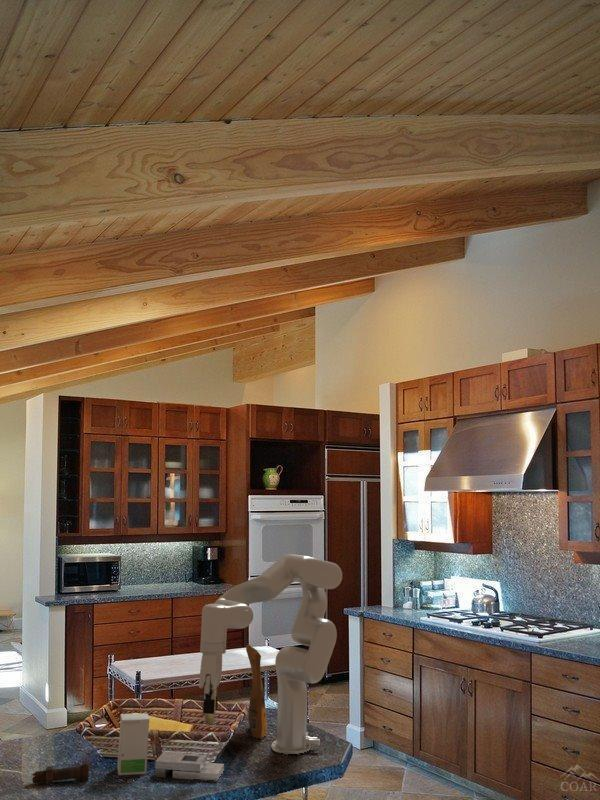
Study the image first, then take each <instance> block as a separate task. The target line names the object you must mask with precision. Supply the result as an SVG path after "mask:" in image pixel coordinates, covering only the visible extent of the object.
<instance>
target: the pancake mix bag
mask: <svg viewBox="0 0 600 800" xmlns="http://www.w3.org/2000/svg"><path fill="white" fill-rule="evenodd" d="M245 652H246V654H247V657H248V660H249V664H250V667H251V674H252V675H251V676H252V677H251V678H252V685H251V691H250V696H249V697H250V698H249V705H248V724H249V729H250V730H249V731H250V733H251V735H252V736H253V737H252V736H251V737H252V738H254V737H256V738H255V739H258V738H260V739H259V740H262V739H263V738H265V737H264V736H266V737H267V731H268V721H267V719H268V718H267V709H266V700H265V692H264V687H263V686H264V685H263V681H262V673H261V667H262V666H261V662H262V661H261V659H262V655H261V654H260V653H259V651H258V650H257V649H256V648H254V647H252V645H250V643H248V644H247V645H245ZM262 737H263V738H262Z"/></svg>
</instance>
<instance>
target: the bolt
mask: <svg viewBox="0 0 600 800" xmlns="http://www.w3.org/2000/svg"><path fill="white" fill-rule="evenodd" d="M89 764H90V763H89V761H88V760H87V759H85V760H82V765H76V766H68V767H62V768H56V769H55V768H54V767H53V766H52V765H50V766H46V768H45V770H38V771H34V773H32V776H33V777H32V780H31V781H32V783H33V784H41V783H45V785H46V786H52V785H53V784H54V782H57V781H58V782H60V781H66V780H69V781H71V780H75V779H76V780H81V779H82V782H83V783H87V782H89V780H90V779H89V776H90V771H89V770H90V768H89V767H90V766H89ZM49 784H50V785H49ZM51 784H52V785H51Z"/></svg>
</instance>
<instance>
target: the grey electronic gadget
mask: <svg viewBox="0 0 600 800" xmlns="http://www.w3.org/2000/svg"><path fill="white" fill-rule="evenodd" d="M183 753H184V752H176V751H175V752H174V751H163V752H162V753H161V754H160V755H159V757H157V759H156V760H155V764H154V765H155V766H154V777H155V778H156V777H157V778H166V777H167V776H168V774H169V773H170V772H171V770H172V779H182V780H184V779H185V780H193V779H204V780H203V781H207V780H214V781H213V782H219V780H218V779H220V778H221V777H222V775H223V774H224V772H223V771H225V763H218V762H217V763H215V762H206V760H207V761H208V754H204V755H202V754H201V753H190V754H183ZM199 754H201V755H199ZM221 774H222V775H221ZM220 776H221V777H220ZM219 777H220V778H219Z"/></svg>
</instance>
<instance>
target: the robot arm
mask: <svg viewBox="0 0 600 800" xmlns="http://www.w3.org/2000/svg"><path fill="white" fill-rule="evenodd" d="M342 580H343V571H342V569H341V567H340V566H339V565H338V564H337V563H334V562H332V561H327V560H322V559H319V558H316V557H312V556H308V555H300V554H294V553H287V554H284V555H282V556H281V557H280V558H279V559H277V561H275V562H274V563H273V564H271V565H270V566H269V567H268V568H267V569H266V570H264V571H263V572H262V573H260V574H259V575H258V576H256V577H254V578H251V579H249V580H247V581H244V582H242V583H240V584H237V585H234V586H233V587H231V588H229V590H227V591H226V592H224V593H223V594H222V595H221V596H220V597H218V598H217V599H216V600H215V602H214V603H207V604H204V605H203V607H202V610H201V626H200V628H201V629H200V631H201V632H200V649H199V653H200V654H202V655H201V660H200V661H201V662H200V669H199V681H198V682H199V683H198V688H199V689H203V688H204V692H203V702H202V703H203V704H202V707H203V708H202V713H203V714H205V713H206V714H214V707H215V711H216V710H217V709H218V688H219V685H220V683H221V682H222V674H223V655H224V654H226V652H227V650H226V649H227V631H228V629H235V630H237V629H240V630H242V629H245V628H247V627H248V626H250V625H251V624H252V622H253V619H254V611H253V609H252V608H251V607H250V606H249V605H252V604H256V603H264V602H268V601H271V600H273V599H275V598H277V597H278V596H279V595H280V594H281V593H282V592H284V590H286V589H287V588H288V587H290V586H291V584H293V583H295V582H296V583H299V584H300V586H301V590H302V597H301V598H302V599H301V602H300V606H299V609H298V611H297V614H296V617H295V619H294V622H293V624H292V627H291V632H290V636H291V639H292V640H293V641H294V642H295V643H297V644H300V645H301V646H302V645H303V646H305V647H308V649H305V648H303V647H302V648H301V647H298V646H292V645H289V646H284V647H282V648H281V649H280V650H278V652H277V654H276V655H275V660H274V662H275V673H276V679H277V706H276V707H277V709H276V738H275V739H276V740H273V742H272V743H271V750H272V751H274V752H276V753H278V754H281V753H283V754H282V755H288V754H297V755H300V754H299V753H303V754H305V753H304V752H306V753H308V752H309V750H310V751H311V749H310V748H311V747H312V746H318V747H319V746H320V743H321V740H320V739H321V738H318V737H317V736H313V737H312V736H310V735H309V732H308V731H307V718H308V717H307V714H308V713H307V712H308V709H307V708H308V688H307V684H308V683H309V684H316V683H319V682H320V681H321V680H322V678H323V677H324V676H325V673H326V671H327V668H328V666H329V663H330V659H331V658H332V655H333V652H334V648H335V645H336V643H337V637H338V635H337V634H338V633H337V628H336V625H335V624H334V622H333V621H331V620H330V619H327V618H324V617H325V614H326V611H327V609H328V608H327V606H328V598H327V593H326V591H325V589H326V590H334V589H336V588H338V586H340V584H341V583H342ZM306 683H307V684H306ZM210 686H213V687H212V688H210ZM215 688H216V706H215V699H214V689H215ZM210 691H212V693H211V692H210ZM307 751H308V752H307Z"/></svg>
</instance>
